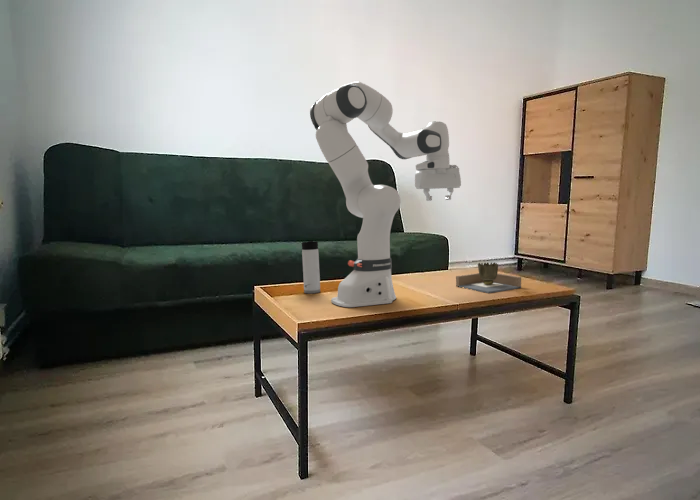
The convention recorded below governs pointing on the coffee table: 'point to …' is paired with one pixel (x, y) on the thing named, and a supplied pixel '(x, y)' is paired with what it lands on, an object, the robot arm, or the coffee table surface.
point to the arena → (499, 284)
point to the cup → (488, 272)
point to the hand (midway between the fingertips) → (438, 200)
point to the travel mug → (311, 267)
